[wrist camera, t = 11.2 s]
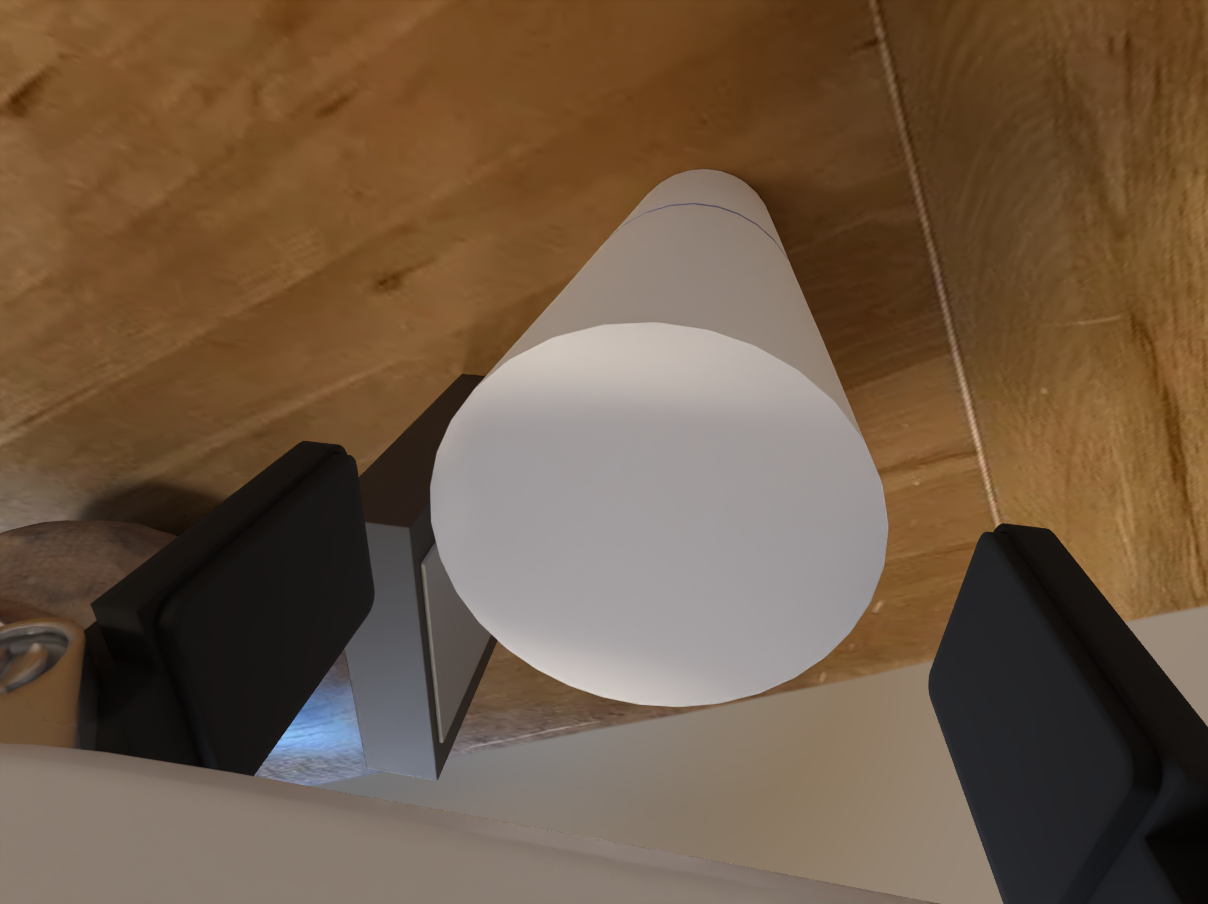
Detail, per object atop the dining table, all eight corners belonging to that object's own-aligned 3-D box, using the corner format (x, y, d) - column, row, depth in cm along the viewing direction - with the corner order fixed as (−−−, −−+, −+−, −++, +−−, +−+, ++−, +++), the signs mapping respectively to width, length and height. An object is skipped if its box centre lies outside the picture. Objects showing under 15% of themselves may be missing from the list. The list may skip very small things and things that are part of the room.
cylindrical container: (802, 207, 31) (997, 454, 9) (731, 341, 34) (745, 759, 12) (662, 143, 30) (504, 233, 9) (605, 285, 34) (388, 609, 12)
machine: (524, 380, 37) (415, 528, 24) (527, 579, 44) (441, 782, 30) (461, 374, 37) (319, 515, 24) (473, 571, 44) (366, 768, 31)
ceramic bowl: (9, 560, 51) (-240, 718, 38) (138, 401, 42) (-129, 534, 29) (237, 735, 56) (90, 926, 43) (393, 628, 48) (267, 826, 34)
